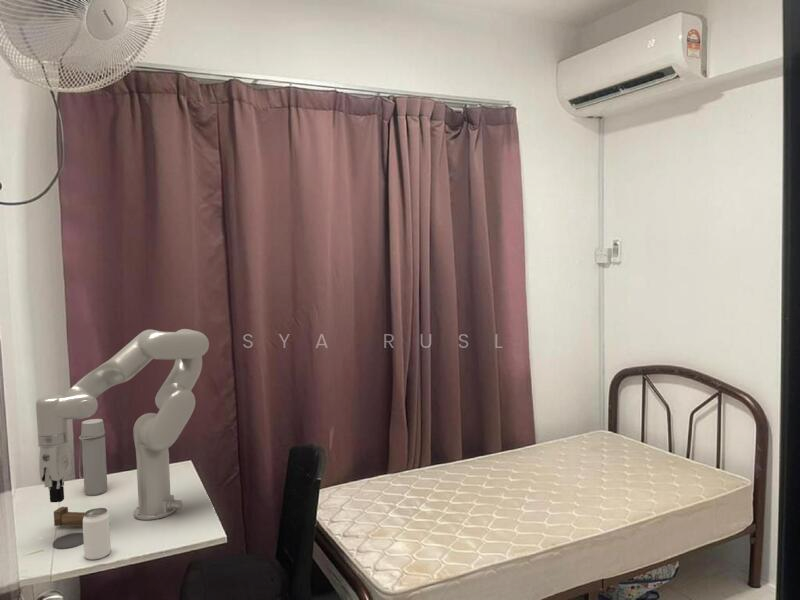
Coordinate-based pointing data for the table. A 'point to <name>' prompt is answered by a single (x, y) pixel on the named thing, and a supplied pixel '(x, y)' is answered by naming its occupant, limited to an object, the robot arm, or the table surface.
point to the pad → (68, 541)
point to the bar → (67, 517)
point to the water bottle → (93, 457)
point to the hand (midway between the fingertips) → (57, 501)
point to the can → (96, 534)
